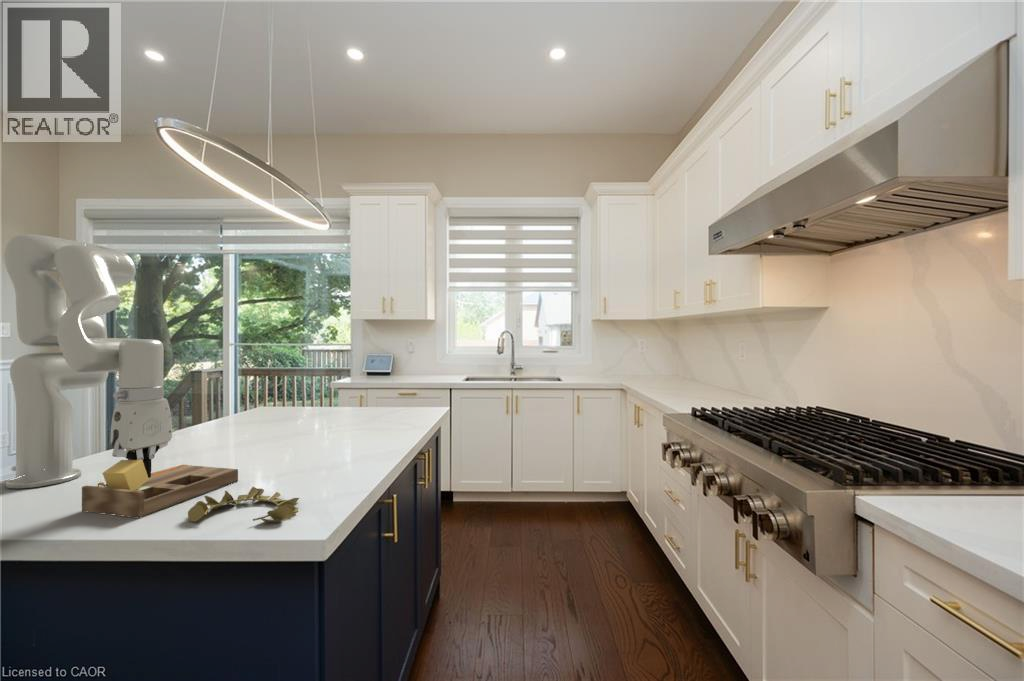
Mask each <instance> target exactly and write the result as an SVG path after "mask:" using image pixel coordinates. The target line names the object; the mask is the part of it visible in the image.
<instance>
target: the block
mask: <svg viewBox="0 0 1024 681" xmlns="http://www.w3.org/2000/svg"><path fill="white" fill-rule="evenodd" d="M102 475H103V478H104V481H105V484H107V486H108V487H107V488H116V489H126V490H136V489H138V488H139V487H140V486H142V485H143V484H144V483H145V482H147V481H148V480H149V478H148V475H147V472H146V469H145V466H144V463H143V460H128V459H120V460H119V461H118V462H117V463H115V464H113V465H111V467H109V468H107V469H106V470H104V471H103V472H102Z"/></svg>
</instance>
